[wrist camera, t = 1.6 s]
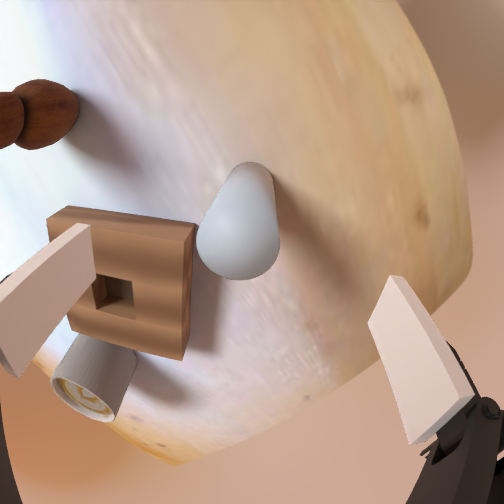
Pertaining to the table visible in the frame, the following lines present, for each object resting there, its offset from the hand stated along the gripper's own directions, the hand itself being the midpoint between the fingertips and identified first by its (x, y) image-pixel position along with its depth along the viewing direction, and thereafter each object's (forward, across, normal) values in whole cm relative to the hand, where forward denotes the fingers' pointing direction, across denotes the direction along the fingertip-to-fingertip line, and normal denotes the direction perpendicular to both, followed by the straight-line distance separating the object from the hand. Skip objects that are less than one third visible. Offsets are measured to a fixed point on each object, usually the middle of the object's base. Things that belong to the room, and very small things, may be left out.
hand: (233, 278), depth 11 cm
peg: (+14, 0, 0) cm, 15 cm away
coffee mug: (+15, -19, -26) cm, 36 cm away
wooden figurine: (+14, -20, +6) cm, 26 cm away
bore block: (+15, -12, -12) cm, 22 cm away
